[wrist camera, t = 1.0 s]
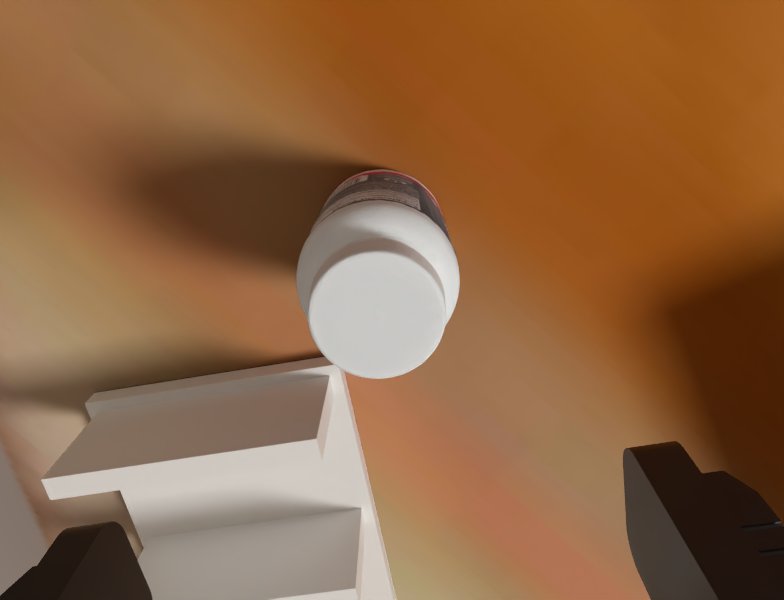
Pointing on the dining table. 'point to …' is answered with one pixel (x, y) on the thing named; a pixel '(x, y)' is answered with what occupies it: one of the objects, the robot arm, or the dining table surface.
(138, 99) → the dining table surface
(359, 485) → the rack
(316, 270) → the pill bottle
